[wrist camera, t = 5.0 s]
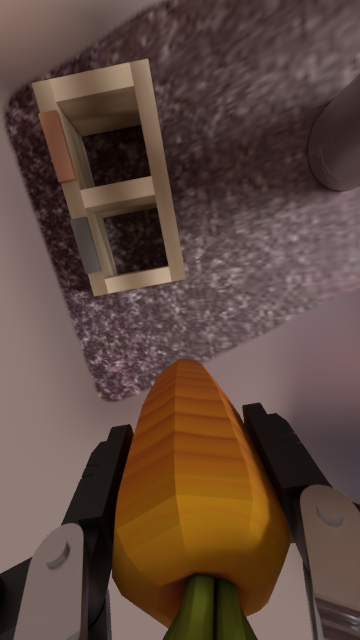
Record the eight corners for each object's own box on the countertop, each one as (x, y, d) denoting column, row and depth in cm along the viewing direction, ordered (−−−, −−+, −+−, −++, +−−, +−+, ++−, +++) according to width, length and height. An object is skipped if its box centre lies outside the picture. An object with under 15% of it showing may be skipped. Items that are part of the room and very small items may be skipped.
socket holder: (153, 104, 23) (147, 53, 17) (183, 274, 28) (186, 279, 22) (63, 122, 23) (27, 78, 17) (109, 288, 28) (92, 297, 22)
